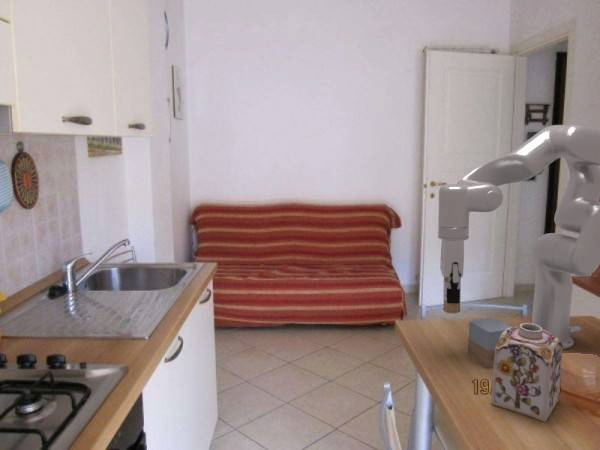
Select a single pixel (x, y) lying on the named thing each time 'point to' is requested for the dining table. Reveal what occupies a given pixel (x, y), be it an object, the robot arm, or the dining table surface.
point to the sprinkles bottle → (450, 307)
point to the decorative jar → (527, 371)
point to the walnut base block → (481, 354)
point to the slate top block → (486, 332)
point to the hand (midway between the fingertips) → (451, 298)
